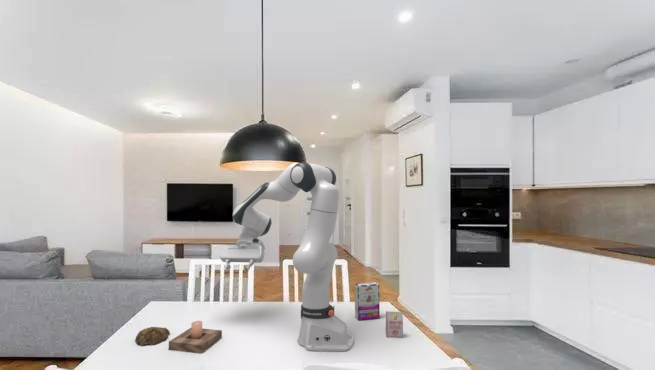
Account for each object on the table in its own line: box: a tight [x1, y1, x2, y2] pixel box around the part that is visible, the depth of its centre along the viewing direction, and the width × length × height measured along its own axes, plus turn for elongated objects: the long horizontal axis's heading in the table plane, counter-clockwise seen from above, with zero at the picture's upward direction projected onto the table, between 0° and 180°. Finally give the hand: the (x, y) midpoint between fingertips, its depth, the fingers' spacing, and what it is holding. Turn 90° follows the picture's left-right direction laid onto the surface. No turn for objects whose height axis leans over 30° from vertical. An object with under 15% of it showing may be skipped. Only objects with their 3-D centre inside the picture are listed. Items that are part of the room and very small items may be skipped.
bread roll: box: [134, 326, 171, 346], centre depth 135 cm, size 13×12×5 cm
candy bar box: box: [354, 281, 381, 322], centre depth 161 cm, size 11×5×16 cm, turn 106°
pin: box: [190, 320, 203, 340], centre depth 131 cm, size 4×4×8 cm
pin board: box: [168, 327, 223, 354], centre depth 131 cm, size 14×14×3 cm
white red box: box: [385, 310, 404, 339], centre depth 140 cm, size 4×7×10 cm, turn 86°
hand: (237, 269), depth 149 cm, fingers open, 8 cm apart
